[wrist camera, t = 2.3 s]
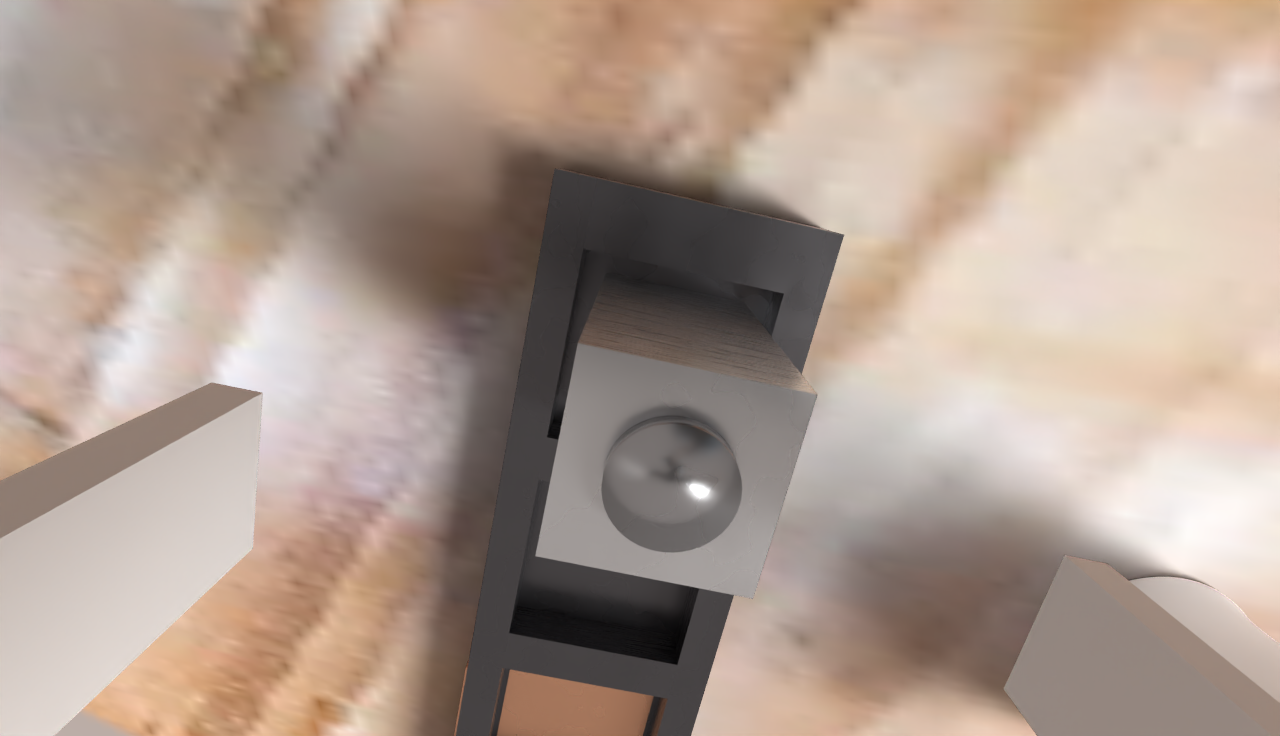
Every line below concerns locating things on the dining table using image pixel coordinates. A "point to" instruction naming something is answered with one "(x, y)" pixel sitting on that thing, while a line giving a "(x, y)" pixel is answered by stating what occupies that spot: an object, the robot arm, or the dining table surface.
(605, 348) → the grey block with knob
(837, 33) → the dining table surface
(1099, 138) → the dining table surface
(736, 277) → the tray with compartments
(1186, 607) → the mug
